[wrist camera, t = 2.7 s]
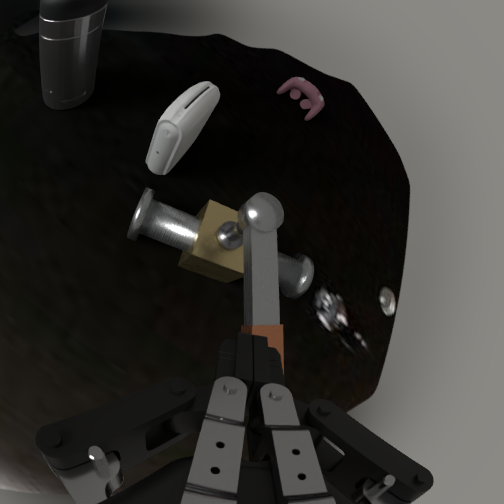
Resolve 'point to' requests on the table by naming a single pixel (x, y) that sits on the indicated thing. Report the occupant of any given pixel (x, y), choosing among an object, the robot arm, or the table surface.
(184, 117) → the photo printer
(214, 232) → the valve
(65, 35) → the robot arm
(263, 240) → the lever
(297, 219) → the table surface
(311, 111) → the pink curved piece
